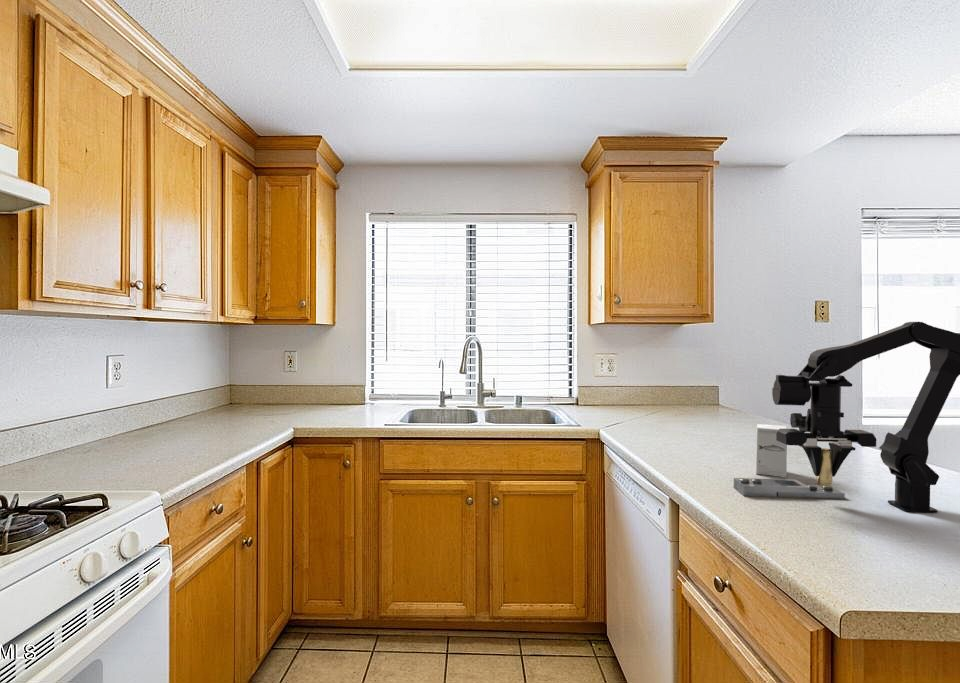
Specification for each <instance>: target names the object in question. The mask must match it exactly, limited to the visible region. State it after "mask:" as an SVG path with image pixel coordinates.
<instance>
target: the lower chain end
mask: <svg viewBox="0 0 960 683" xmlns="http://www.w3.org/2000/svg"><path fill="white" fill-rule="evenodd" d="M805 485H806V486H808V487H810V493H799V492H777V497H776V498H794V499H795V498H796V499H797V498H798V499H799V498H800V499H801V498H803V499H831V500H833V499H837V500H845V497H846V496H845V493H844V492H842V491H841V490H839V489H836V488H835V487H834V486H832V487H822V486H818V485H817V484H805ZM782 486H788V485H782Z"/></svg>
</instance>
